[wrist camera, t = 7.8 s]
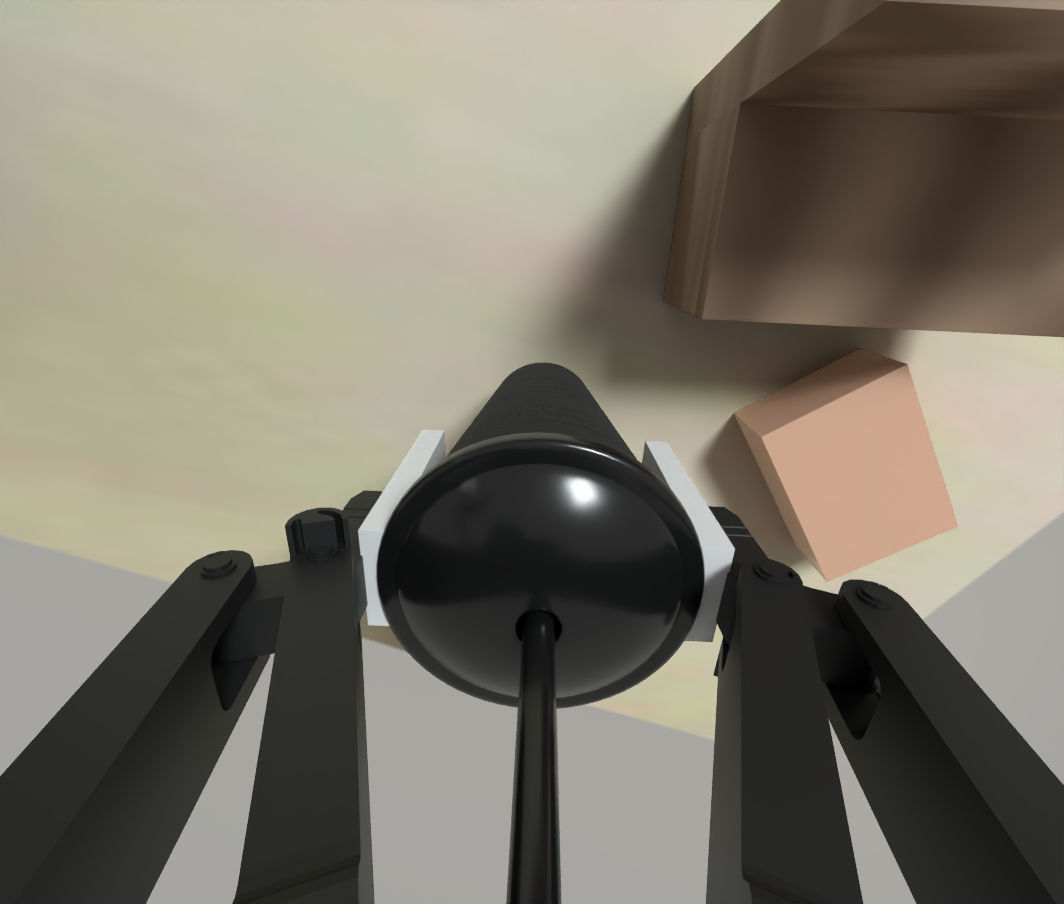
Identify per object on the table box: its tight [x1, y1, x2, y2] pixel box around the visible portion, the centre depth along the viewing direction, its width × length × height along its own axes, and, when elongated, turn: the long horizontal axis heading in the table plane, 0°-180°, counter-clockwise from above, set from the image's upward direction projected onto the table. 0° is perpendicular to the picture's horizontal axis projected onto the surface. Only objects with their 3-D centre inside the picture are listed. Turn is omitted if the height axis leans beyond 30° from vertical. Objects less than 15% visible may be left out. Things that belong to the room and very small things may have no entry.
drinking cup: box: [376, 363, 705, 904], centre depth 15 cm, size 8×8×20 cm
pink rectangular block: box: [734, 349, 958, 582], centre depth 27 cm, size 7×10×4 cm
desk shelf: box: [663, 0, 1064, 337], centre depth 17 cm, size 15×9×14 cm, turn 87°
